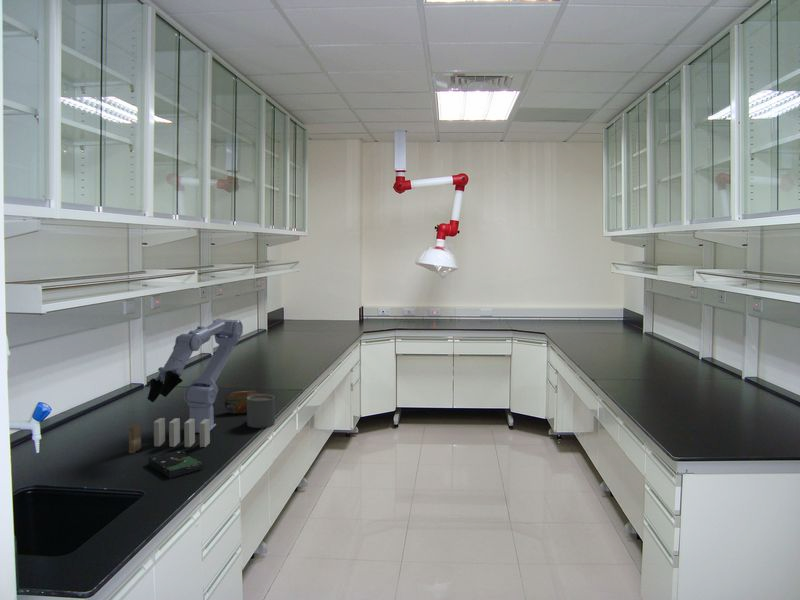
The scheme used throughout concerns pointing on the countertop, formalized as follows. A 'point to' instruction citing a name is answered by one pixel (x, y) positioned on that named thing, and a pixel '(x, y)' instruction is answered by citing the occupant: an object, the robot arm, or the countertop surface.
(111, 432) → the countertop surface
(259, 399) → the coffee mug
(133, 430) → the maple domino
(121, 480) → the countertop surface
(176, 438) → the domino
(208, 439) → the domino
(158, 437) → the domino
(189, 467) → the disk drive
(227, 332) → the robot arm
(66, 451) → the countertop surface
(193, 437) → the domino
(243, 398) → the tin
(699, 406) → the countertop surface
